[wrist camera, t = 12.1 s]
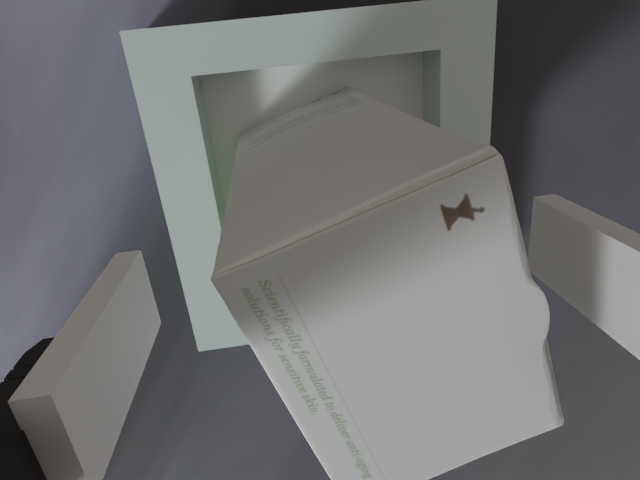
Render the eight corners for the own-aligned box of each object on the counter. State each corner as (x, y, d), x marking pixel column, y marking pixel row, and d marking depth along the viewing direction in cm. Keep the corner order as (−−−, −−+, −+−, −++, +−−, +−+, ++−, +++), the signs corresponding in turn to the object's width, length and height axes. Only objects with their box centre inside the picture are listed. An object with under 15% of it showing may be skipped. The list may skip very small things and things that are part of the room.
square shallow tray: (206, 317, 28) (198, 351, 25) (141, 34, 22) (119, 31, 18) (457, 282, 29) (481, 311, 26) (465, 1, 22) (497, -7, 19)
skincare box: (237, 132, 23) (182, 263, 8) (357, 79, 22) (513, 123, 8) (301, 267, 26) (340, 527, 12) (408, 223, 26) (581, 436, 11)
